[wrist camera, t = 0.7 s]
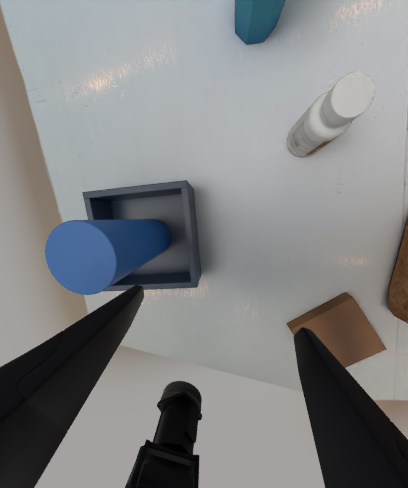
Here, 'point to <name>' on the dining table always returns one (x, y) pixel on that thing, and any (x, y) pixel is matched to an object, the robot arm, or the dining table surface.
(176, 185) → the tray
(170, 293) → the dining table surface
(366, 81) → the pill bottle
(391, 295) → the bread
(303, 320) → the trivet
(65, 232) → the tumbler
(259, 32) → the cup
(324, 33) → the dining table surface
